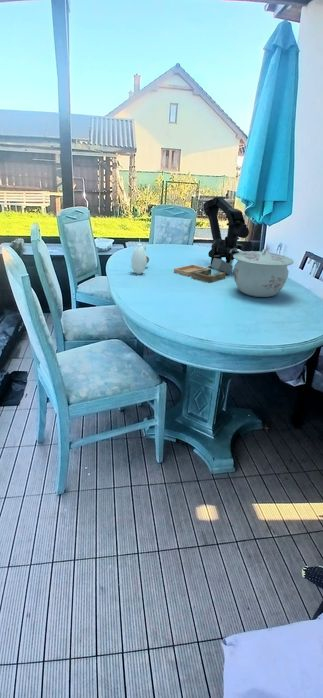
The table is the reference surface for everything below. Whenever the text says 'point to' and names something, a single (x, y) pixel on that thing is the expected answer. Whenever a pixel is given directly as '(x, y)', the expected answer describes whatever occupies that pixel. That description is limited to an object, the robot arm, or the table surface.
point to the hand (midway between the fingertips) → (228, 264)
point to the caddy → (222, 265)
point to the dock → (203, 275)
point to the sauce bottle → (139, 259)
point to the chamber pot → (261, 272)
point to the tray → (188, 270)
